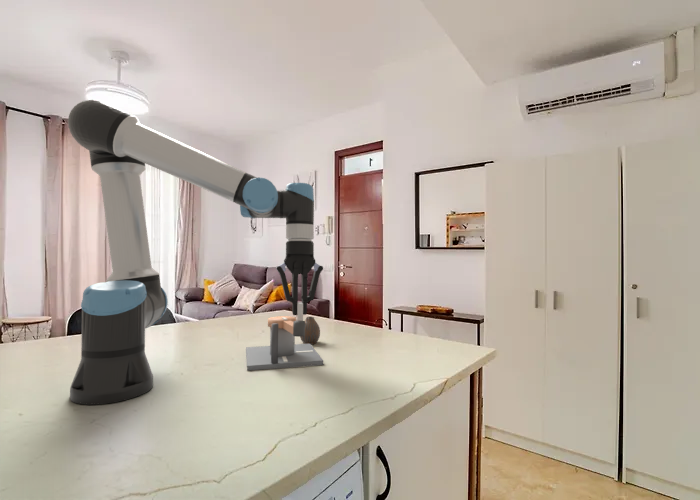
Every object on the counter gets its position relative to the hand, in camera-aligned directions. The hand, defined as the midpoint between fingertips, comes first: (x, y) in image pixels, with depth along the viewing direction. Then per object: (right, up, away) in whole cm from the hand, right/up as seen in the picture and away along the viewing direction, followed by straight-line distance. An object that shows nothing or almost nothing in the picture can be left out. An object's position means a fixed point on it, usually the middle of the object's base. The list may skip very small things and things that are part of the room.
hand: (299, 326), depth 102 cm
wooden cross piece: (-3, -1, +2) cm, 4 cm away
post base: (-6, -10, +7) cm, 14 cm away
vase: (0, -11, +25) cm, 27 cm away
